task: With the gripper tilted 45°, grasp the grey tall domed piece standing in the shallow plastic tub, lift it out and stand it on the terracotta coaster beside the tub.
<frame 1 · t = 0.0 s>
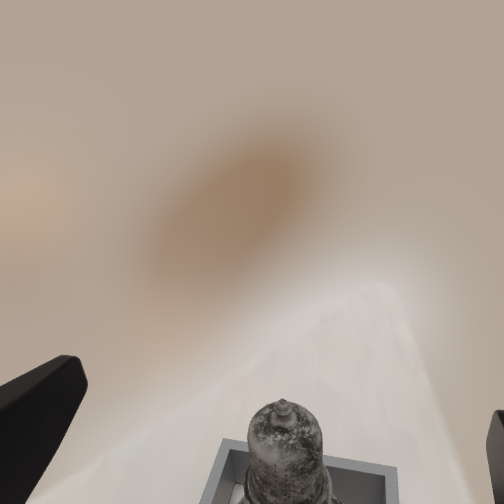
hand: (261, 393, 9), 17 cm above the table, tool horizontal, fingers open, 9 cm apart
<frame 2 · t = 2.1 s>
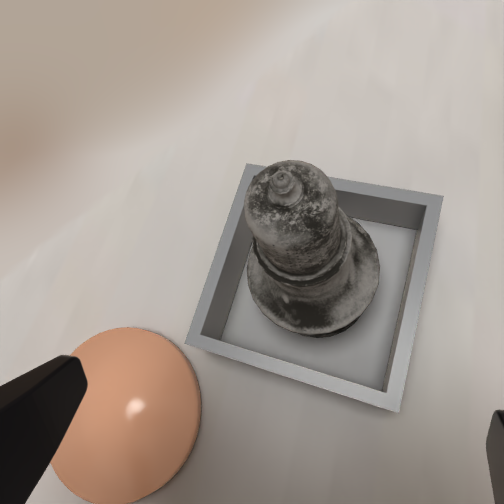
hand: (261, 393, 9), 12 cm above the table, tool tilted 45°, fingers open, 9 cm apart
coaster: (126, 409, 22), on the table
grey tall domed piece: (317, 287, 22), resting in tub
tub: (317, 286, 21), on the table
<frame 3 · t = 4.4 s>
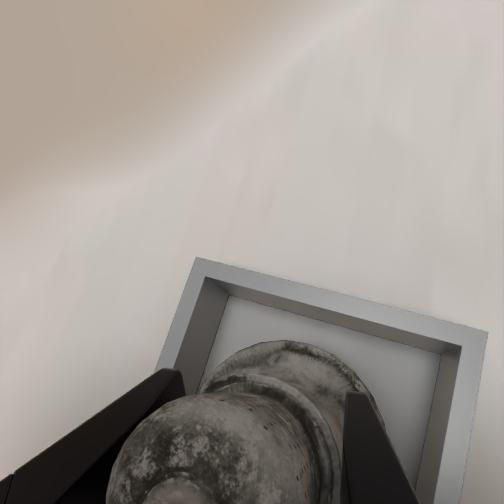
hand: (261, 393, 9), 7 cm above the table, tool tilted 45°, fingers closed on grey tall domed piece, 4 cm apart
grey tall domed piece: (297, 432, 15), resting in tub, touching gripper
tub: (297, 432, 15), on the table
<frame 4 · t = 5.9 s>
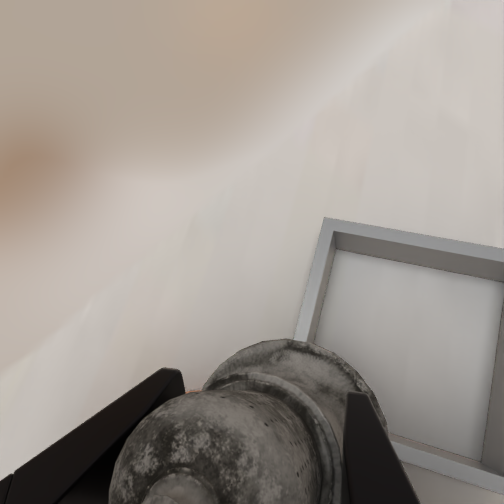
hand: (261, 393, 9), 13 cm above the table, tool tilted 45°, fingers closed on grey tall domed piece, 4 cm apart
grey tall domed piece: (300, 430, 15), point 6 cm above the table, touching gripper
tub: (400, 344, 20), on the table
when the fingers open (9 cm above the table, at t = 7.7 s): grey tall domed piece stays where it is, resting on coaster.
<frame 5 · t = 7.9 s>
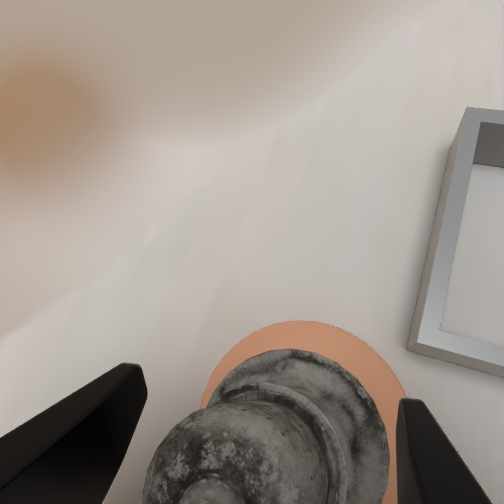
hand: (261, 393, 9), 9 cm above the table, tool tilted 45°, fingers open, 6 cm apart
coaster: (303, 427, 17), on the table
grey tall domed piece: (302, 434, 16), point 1 cm above the table, touching coaster
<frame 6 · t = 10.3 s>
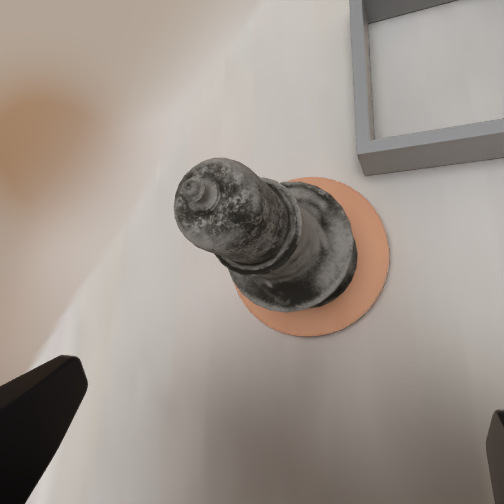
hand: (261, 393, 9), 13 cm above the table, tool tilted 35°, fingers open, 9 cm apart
coaster: (308, 257, 22), on the table
grey tall domed piece: (306, 258, 21), point 1 cm above the table, touching coaster
tub: (456, 73, 21), on the table
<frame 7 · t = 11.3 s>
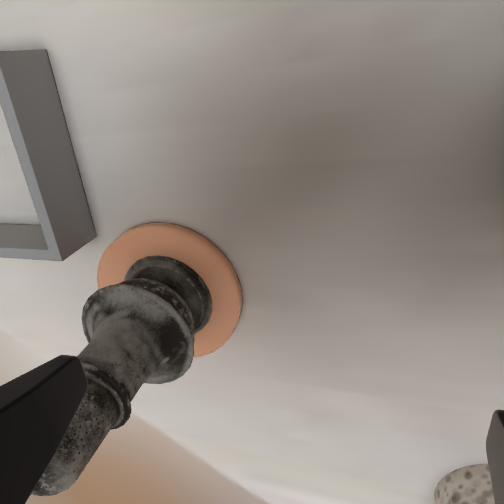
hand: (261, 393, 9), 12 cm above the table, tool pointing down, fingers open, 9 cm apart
coaster: (172, 289, 24), on the table
grey tall domed piece: (169, 295, 23), point 1 cm above the table, touching coaster
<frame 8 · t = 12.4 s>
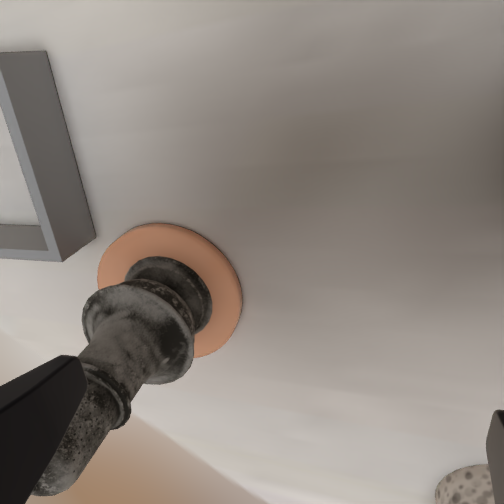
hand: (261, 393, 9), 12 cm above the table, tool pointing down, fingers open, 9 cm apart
coaster: (172, 290, 24), on the table
grey tall domed piece: (169, 296, 23), point 1 cm above the table, touching coaster
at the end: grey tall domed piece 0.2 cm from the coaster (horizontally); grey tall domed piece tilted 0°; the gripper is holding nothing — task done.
